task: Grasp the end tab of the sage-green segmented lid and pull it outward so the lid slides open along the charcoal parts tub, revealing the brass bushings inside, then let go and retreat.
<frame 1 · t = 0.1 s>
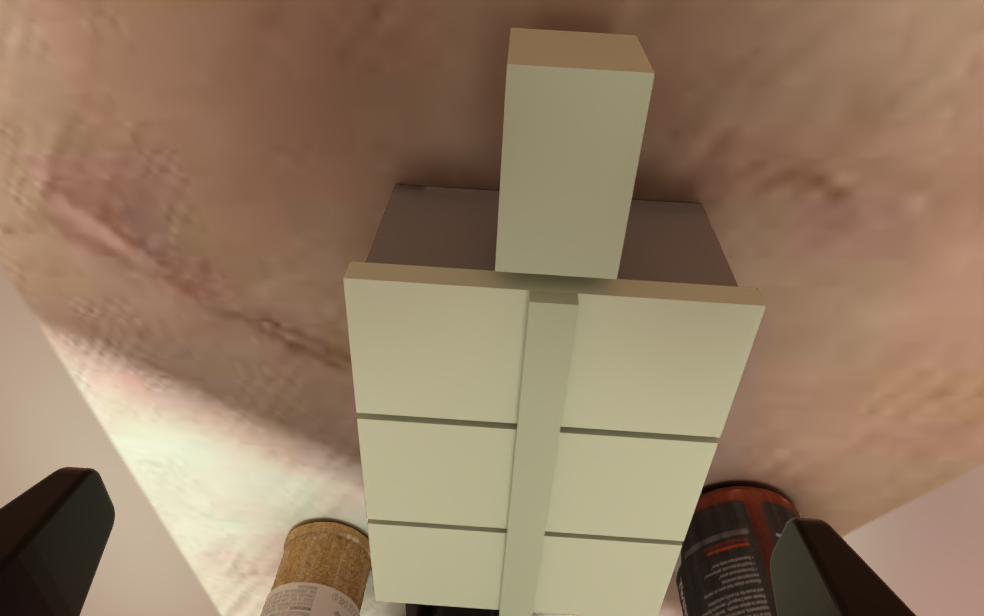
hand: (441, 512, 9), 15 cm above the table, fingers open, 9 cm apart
sprinkles bottle: (331, 541, 34), on the table
tub: (530, 358, 26), on the table
supplement bottle: (729, 517, 31), on the table
lid: (537, 391, 21), point 5 cm above the table, slide at 0.0 cm
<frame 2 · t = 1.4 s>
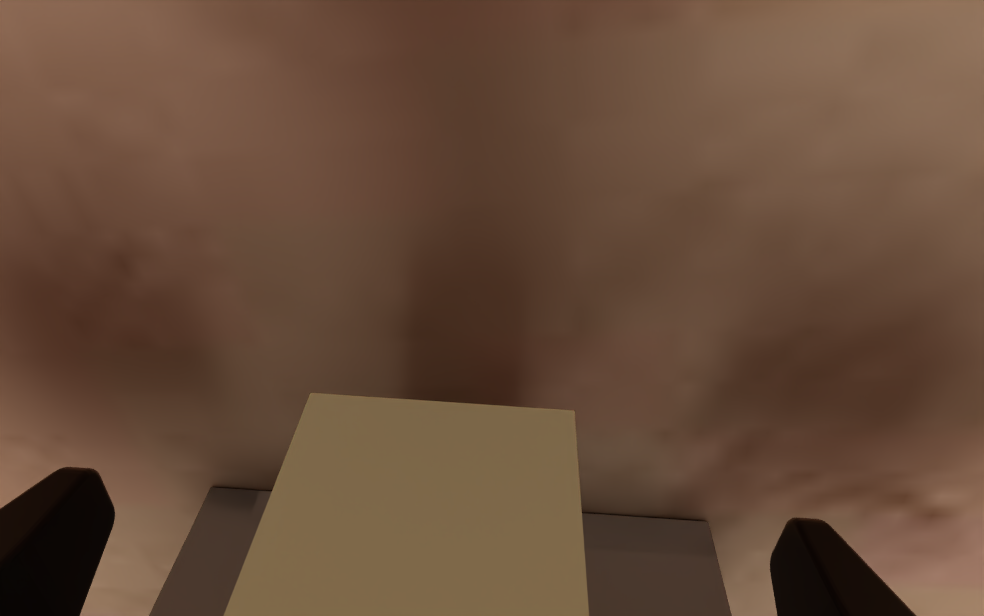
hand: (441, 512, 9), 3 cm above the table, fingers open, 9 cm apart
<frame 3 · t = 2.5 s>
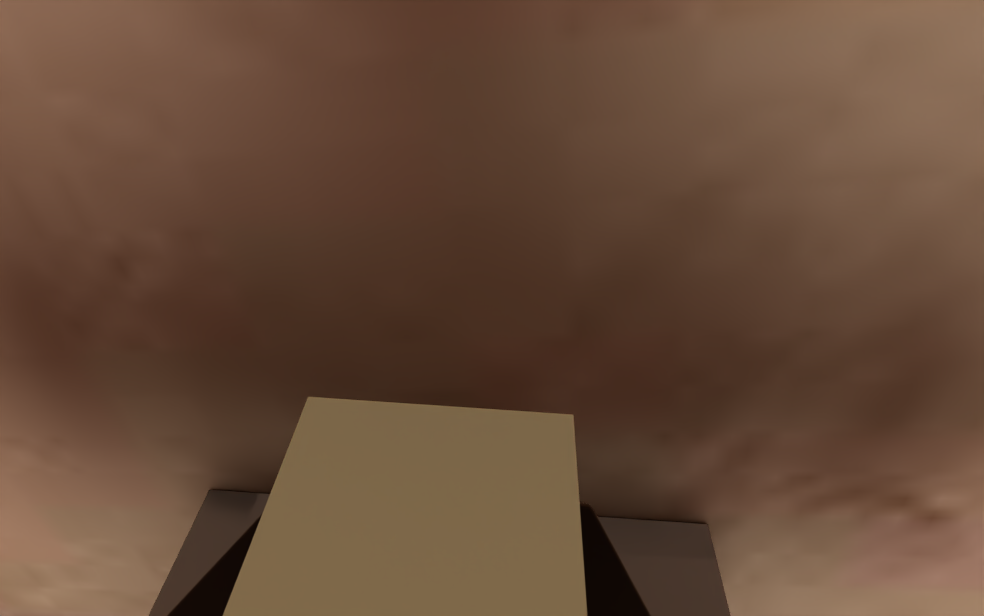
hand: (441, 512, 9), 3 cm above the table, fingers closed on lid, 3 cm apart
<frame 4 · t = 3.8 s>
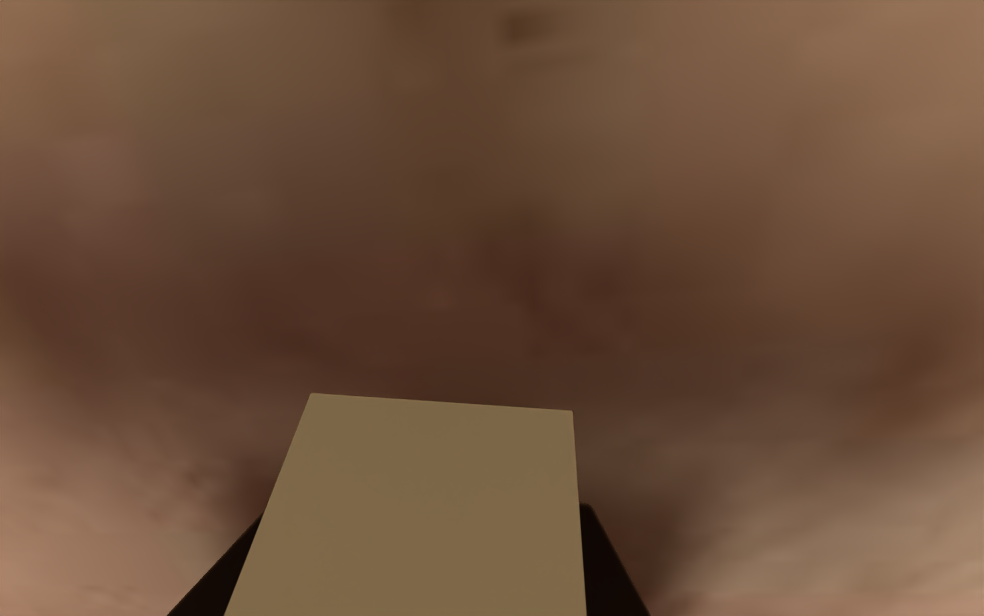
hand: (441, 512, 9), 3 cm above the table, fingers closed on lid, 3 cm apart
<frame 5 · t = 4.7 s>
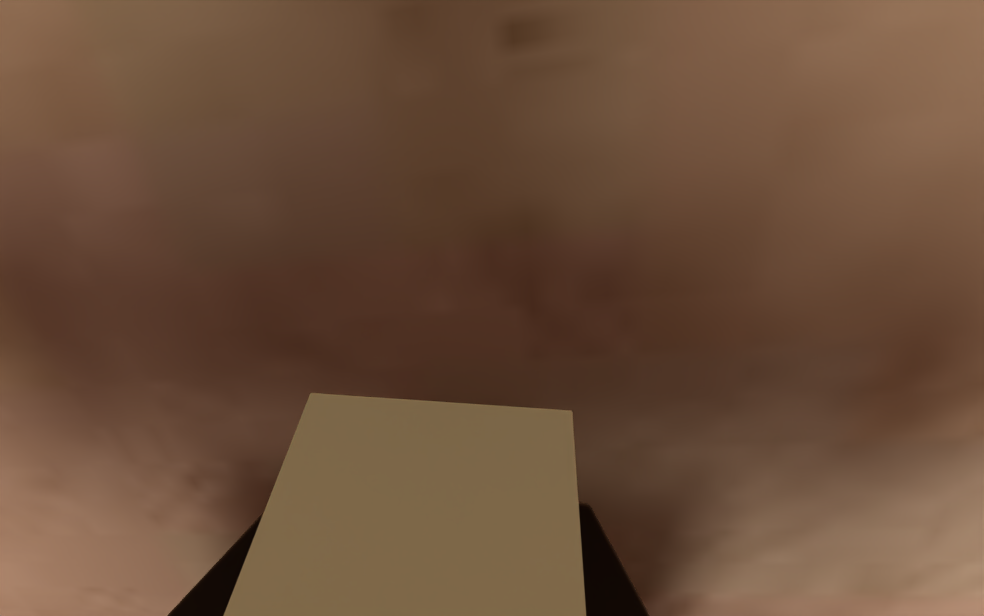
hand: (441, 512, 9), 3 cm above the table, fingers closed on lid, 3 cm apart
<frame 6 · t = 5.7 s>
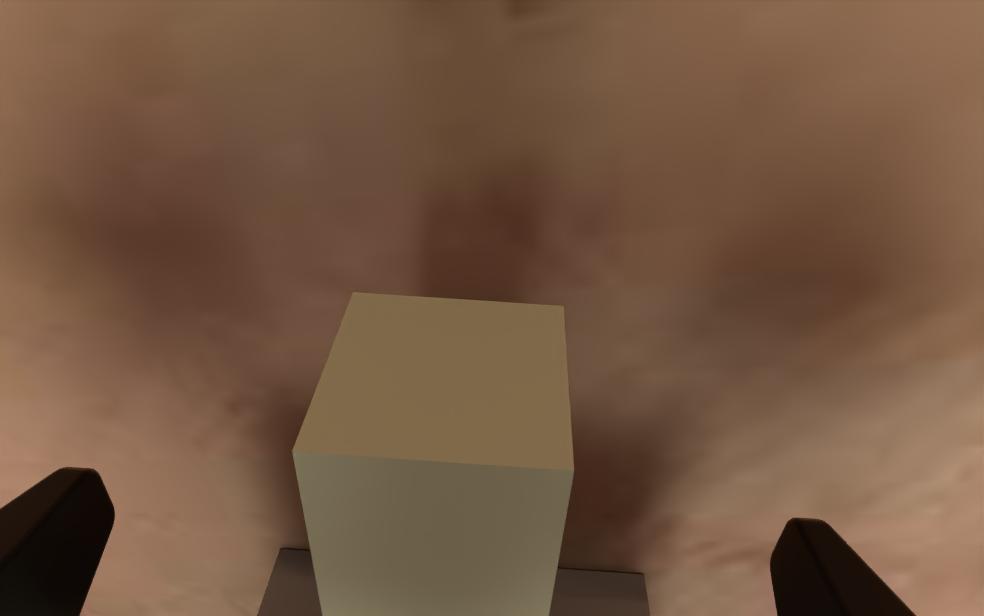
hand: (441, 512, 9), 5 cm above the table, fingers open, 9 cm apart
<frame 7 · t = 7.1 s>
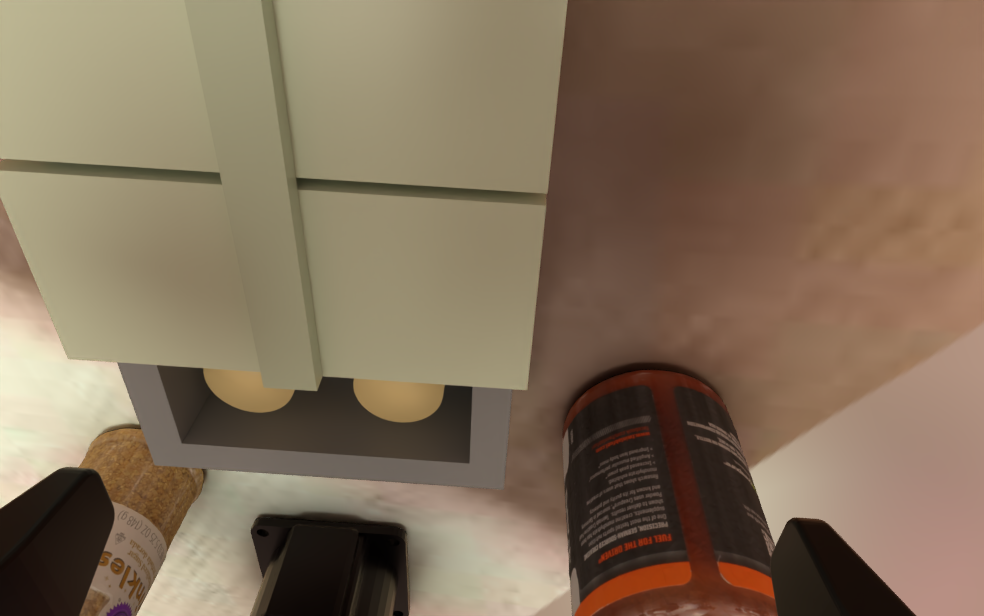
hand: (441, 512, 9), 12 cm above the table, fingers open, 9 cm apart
sprinkles bottle: (151, 458, 27), on the table
tub: (348, 176, 19), on the table
supplement bottle: (642, 419, 25), on the table
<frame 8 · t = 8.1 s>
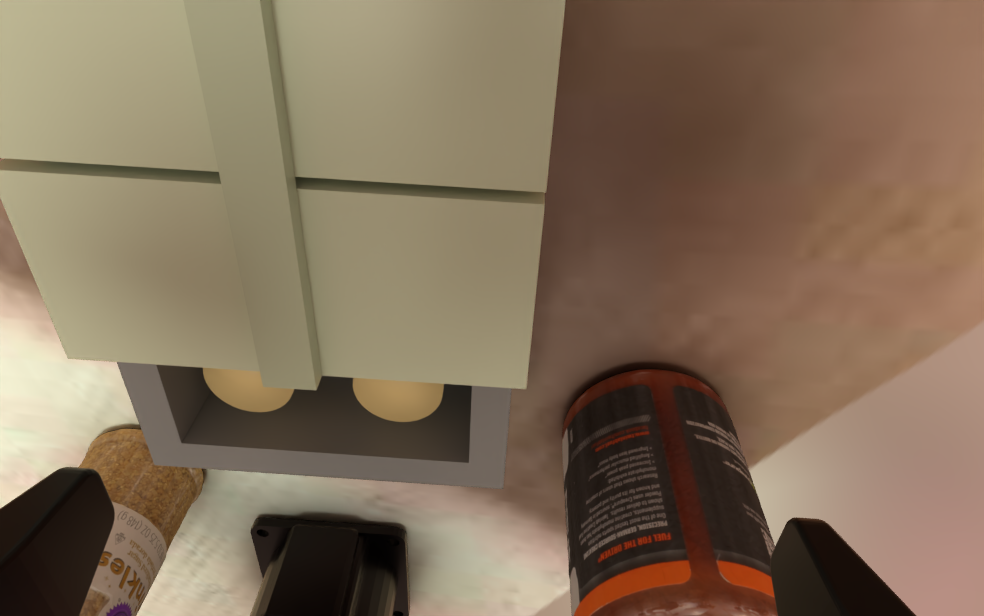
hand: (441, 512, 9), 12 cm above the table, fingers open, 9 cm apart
sprinkles bottle: (151, 458, 27), on the table
tub: (347, 176, 19), on the table
supplement bottle: (642, 419, 25), on the table
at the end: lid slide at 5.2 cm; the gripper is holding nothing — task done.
